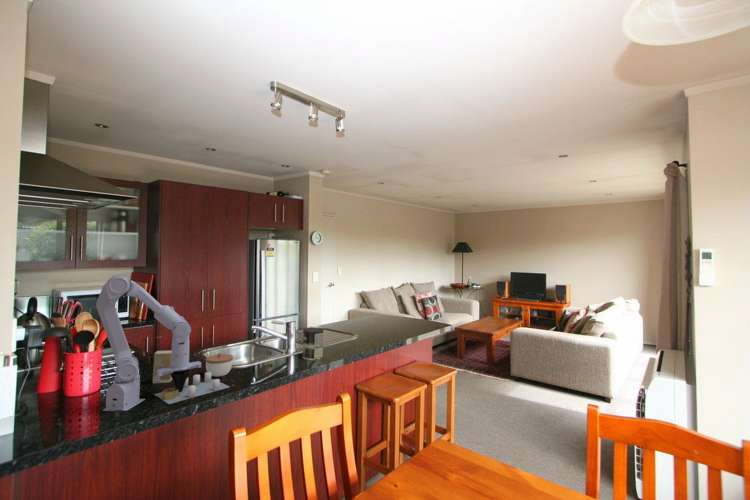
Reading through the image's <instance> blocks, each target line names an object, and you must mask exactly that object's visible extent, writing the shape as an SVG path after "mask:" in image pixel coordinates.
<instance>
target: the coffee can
mask: <svg viewBox="0 0 750 500" xmlns="http://www.w3.org/2000/svg"><path fill="white" fill-rule="evenodd" d="M302 331H303V333H302V359H304V360H306V361H317V360H316V359H318V360H321V359H323V358H322V357H324V354H323V352H324V351H323V350H324V349H323V348H324V329H323V328H321V327H305V328H304V329H303V330H302ZM320 358H321V359H320Z"/></svg>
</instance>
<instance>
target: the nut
mask: <svg viewBox="0 0 750 500" xmlns="http://www.w3.org/2000/svg"><path fill="white" fill-rule="evenodd" d="M161 392H162V398H163V399H164V400H169V399H174V398H176V397H178V389H177V388H176V387H169V388H168V387H167V388H166V389H164V390H162V391H161Z"/></svg>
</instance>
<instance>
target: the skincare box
mask: <svg viewBox="0 0 750 500" xmlns="http://www.w3.org/2000/svg"><path fill="white" fill-rule="evenodd" d="M171 353H172V350H157V351H155V352H154V355H153V370H152V384H163V383H171V381H172V380H173V379H172V377H171V375H170V374H166V375H162V376H160V377H159V376H157V370H159V369H163V368H166V367H169V366H171Z"/></svg>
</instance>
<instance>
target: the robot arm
mask: <svg viewBox="0 0 750 500" xmlns="http://www.w3.org/2000/svg"><path fill="white" fill-rule="evenodd" d="M125 294H126V296H127V297H133V298H136V299H138V300H139V301H140V302H141V303H143V305H145V306H146V307H148V309H150V310H151V311H152V312H153V314H154V315H153V318H155V320H157V321H158V322H159V323H160V324H161V325H162V326H164V327H165V328H166V329H168V330H171V333H172V340H171V351H172V353H171V366H169V367H166V368H163V369H159V370H157V376H159V377H160V376H162V375H166V374H170V375H171V377H172V380H173V383H174V386H175V387H174V388H177V389H178V392H182V391H183V387H184V384H185V381H186V379H187V378H189V375H190V374H191V371H190V370H192V369H196V368H198V369H199V368H202V362H201V361H199V360H198V361H192V362H191V361H190V341H191V340H190V334H191V332H192V327H191V325H190V324H189V322H188V321H187V320H186V319H185V317H184V316H183V315H180V314H178V313H177V312H176V311H175V308H174V307H173V306H172V305H171V306H169V305H166V304H165V305H162V304H161V303H160V302H159V301H158V300H156V299H155V298H154V297H153V296H152V295H151V294H150V293H149V292H147V291H146V289H144V287H142V286H141V285H140V284H138V283H137V282H136V281H133V280H132V279H130V278H129V277H128V276H126V275H125V274H121V273H120V274H119V273H118V274H114V275H112V276H111V277H110V278H109V279H108V280H107V281H106V282H105V283H104V284H103V286H102V288H101V291H100V293H99V295H98V298H97V300H96V302H95V303H96V304H95V308H96V309H97V312H98V313H97V314H98V315H99V318H100V320H101V323H102V326H103V329H104V331H105V334H106V338H107V340H108V342H109V345H110V348H111V351H112V354H113V356H114V362H115V365H116V370H115V377H114V378H113V379H114V380H113V383H112V384H111V385H110V386H109V387H108V388H107V390H106V392H105V393H106V394H105V408H103V409H102V411H103V412H116V411H124V412H125V411H128V410H131V409H132V408H133V407H135V406H137V405H138V404H140V403H142V402H143V401H145V400H146V398H140V393H141V391H140V390H141V387H140V386H141V374H140V373H139V370H140V368H139V365H140V364H139V363H140V362H139V360H138V358H137V357H136V356H135V355H134V354H133V353H132V349H131V348H130V346H129V343H128V340H127V337H126V334H125V332H124V328H123V326H122V323H121V320H120V317H119V315H118V313H117V309H116V306H115V305H116V303H117V302H118V301H119V299H120V298H121V297H122V296H123V295H125Z"/></svg>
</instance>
